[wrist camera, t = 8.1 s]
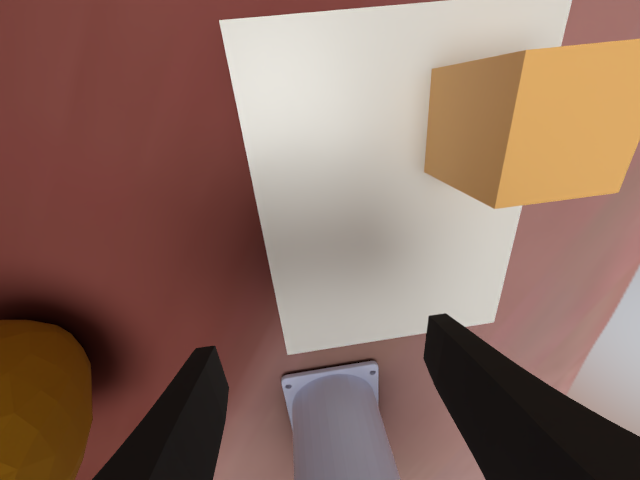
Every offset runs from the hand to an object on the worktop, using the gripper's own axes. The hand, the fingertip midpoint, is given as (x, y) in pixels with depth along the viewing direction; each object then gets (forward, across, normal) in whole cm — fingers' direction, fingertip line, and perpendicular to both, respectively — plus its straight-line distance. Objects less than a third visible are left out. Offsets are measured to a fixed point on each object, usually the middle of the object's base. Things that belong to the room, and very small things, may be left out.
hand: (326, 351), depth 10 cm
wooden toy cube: (+8, -9, -6) cm, 14 cm away
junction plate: (+9, -6, -1) cm, 11 cm away
